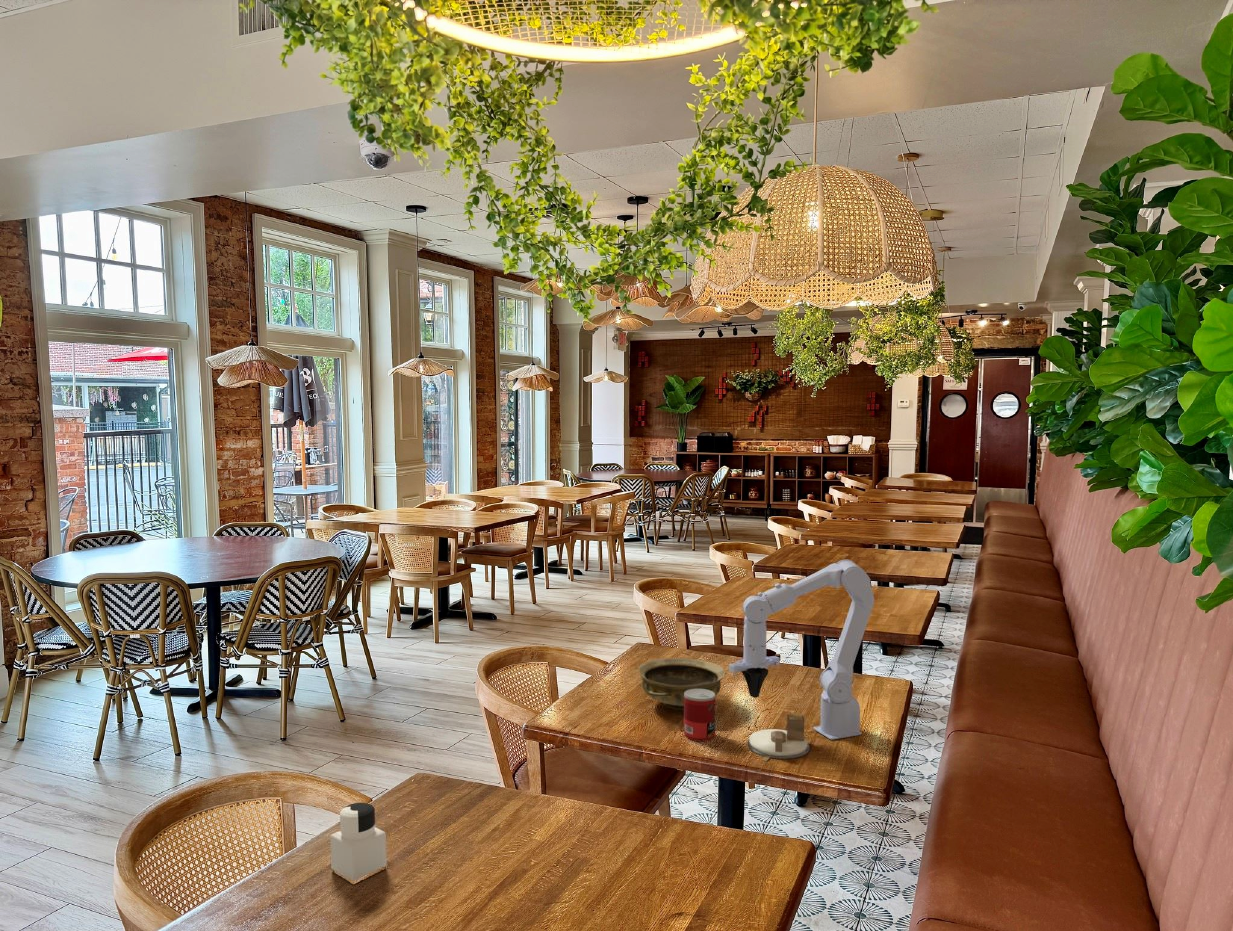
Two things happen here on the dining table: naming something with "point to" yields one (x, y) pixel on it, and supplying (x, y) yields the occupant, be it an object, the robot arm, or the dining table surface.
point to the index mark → (766, 758)
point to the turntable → (776, 743)
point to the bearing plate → (778, 756)
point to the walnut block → (795, 727)
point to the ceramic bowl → (678, 679)
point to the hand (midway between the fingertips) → (754, 696)
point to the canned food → (699, 714)
